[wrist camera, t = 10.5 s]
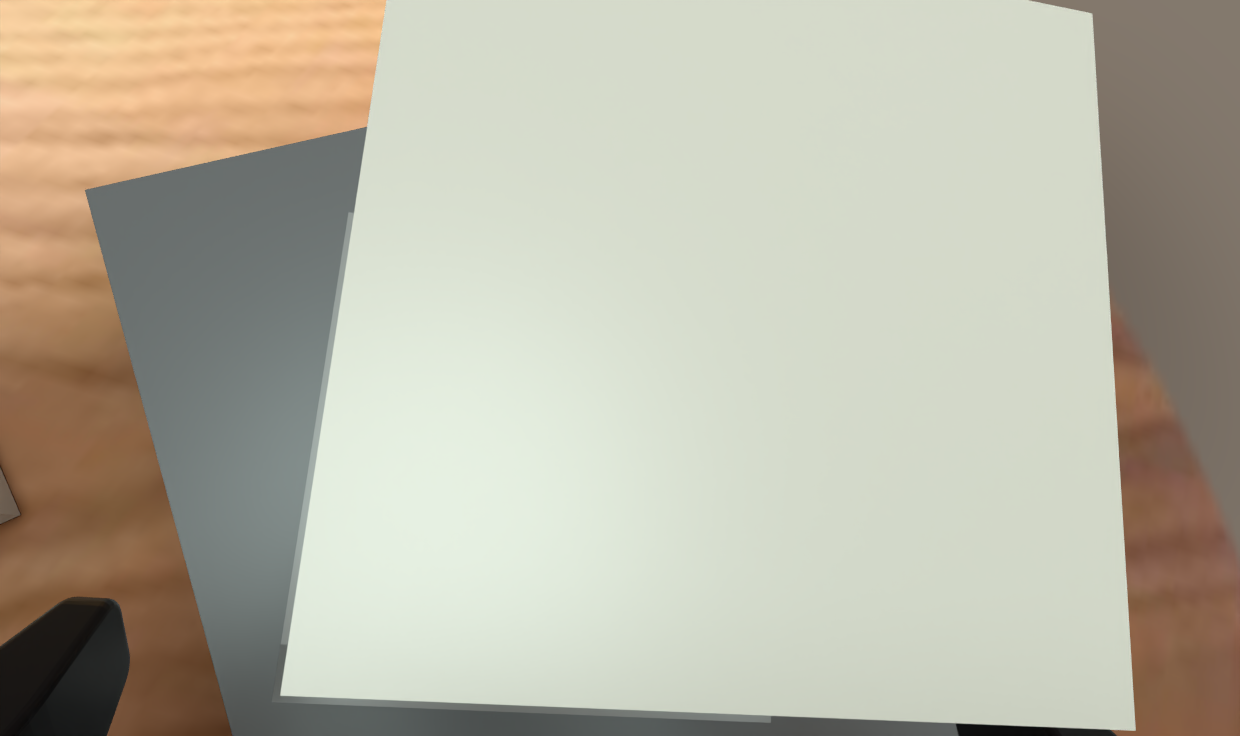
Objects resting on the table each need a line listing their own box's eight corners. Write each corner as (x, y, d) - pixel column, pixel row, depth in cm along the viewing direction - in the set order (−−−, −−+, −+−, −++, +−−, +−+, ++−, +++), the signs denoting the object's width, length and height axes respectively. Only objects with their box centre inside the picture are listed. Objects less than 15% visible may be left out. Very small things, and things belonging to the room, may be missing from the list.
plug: (632, 588, 16) (1145, 740, 4) (420, 574, 15) (264, 706, 3) (646, 384, 17) (1099, 7, 5) (446, 362, 16) (396, -139, 4)
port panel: (926, 729, 18) (1072, 790, 14) (335, 1012, 15) (283, 1205, 11) (681, 87, 20) (739, -36, 16) (117, 219, 17) (-1, 111, 13)
